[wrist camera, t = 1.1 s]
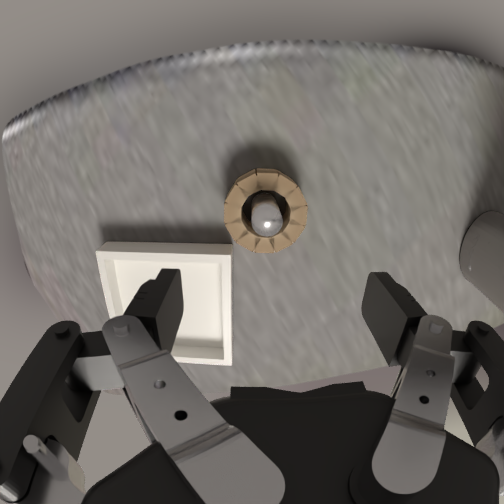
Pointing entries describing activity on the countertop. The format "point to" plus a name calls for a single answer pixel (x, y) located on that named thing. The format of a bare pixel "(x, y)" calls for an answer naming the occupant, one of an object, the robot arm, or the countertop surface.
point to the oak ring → (243, 227)
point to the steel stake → (266, 215)
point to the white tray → (193, 285)
